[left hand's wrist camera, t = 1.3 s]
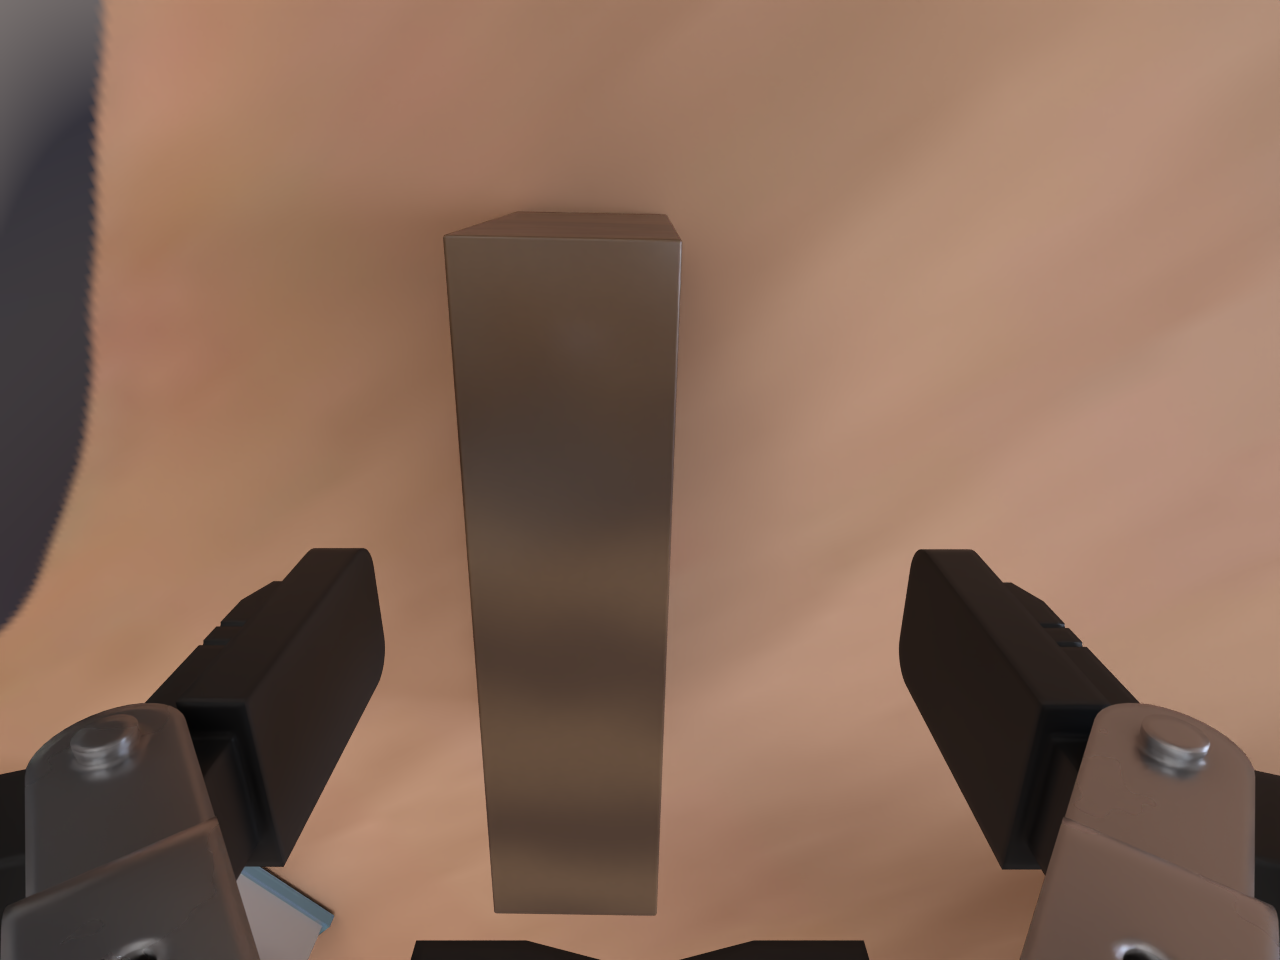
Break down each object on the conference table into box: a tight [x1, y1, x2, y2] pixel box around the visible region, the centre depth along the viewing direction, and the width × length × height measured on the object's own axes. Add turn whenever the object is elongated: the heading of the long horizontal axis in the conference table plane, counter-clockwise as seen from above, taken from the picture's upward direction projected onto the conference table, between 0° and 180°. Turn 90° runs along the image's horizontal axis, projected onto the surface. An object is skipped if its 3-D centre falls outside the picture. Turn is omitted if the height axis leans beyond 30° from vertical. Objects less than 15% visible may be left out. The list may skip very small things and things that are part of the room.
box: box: [443, 212, 682, 916], centre depth 29 cm, size 24×6×12 cm, turn 179°
